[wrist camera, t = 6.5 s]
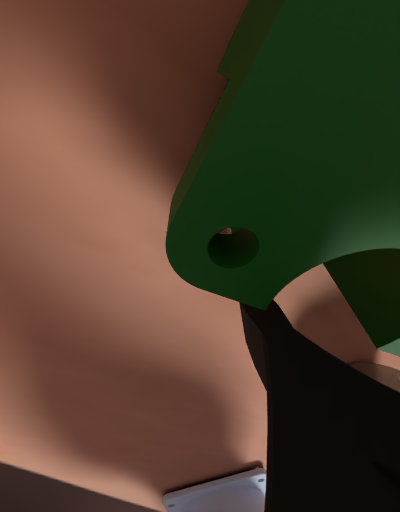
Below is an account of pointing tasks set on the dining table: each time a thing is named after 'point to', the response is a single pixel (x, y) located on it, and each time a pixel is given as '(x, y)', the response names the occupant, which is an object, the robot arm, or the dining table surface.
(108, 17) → the dining table surface
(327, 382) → the robot arm
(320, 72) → the clamp
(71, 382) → the dining table surface
